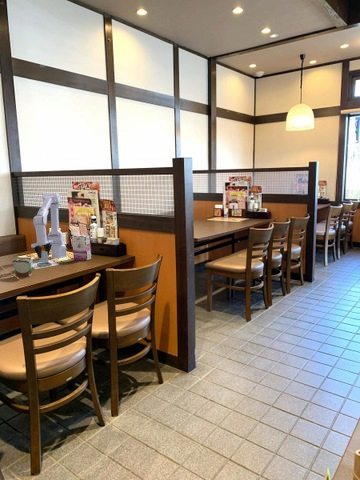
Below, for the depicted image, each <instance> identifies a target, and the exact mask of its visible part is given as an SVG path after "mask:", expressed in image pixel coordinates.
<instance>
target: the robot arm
mask: <svg viewBox="0 0 360 480" xmlns="http://www.w3.org/2000/svg"><path fill="white" fill-rule="evenodd" d="M42 201H43V203H42V206H41V207H40V208H38V209H39V210H38V211H37V214H36V215H35V216H34V217H33V219H32V222H33V223H32V224H33V226H34V229H35V234H36V242H35V243H31V244H30V246H31V247H30V248H33V249H34V251H35V252H36V255H37V258H41V251H42V248H44V251H47V252H48V257H50V258H52V259H54V260H55V259H59V258H65V257H66V258H67V257H68V255H67V247H66V244H64V243H65V237H64V233H63V232H62V231H61V230H60V223H59V221H60V220H59V206H61V195H60V193H59V192H56V193H55V192H53V193H45V192H44V193H43V194H42ZM49 209H50V211H49ZM49 212H50V227H51V228H50V229H51V230H50V231H49V232H48V234H47V229H46V226H47V223H48V222H47V221H48V215H49ZM42 246H43V247H42ZM50 253H51V256H50Z"/></svg>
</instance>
